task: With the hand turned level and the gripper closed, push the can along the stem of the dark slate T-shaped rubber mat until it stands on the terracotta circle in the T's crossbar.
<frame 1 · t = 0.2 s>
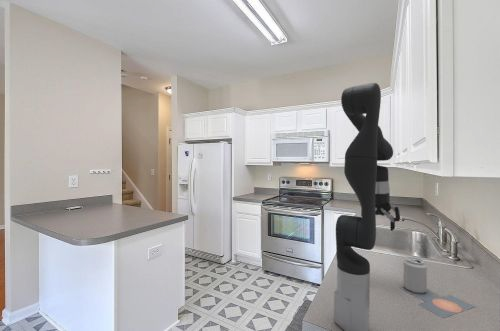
hand: (380, 228, 99), 22 cm above the worktop, tool pointing down, fingers open, 8 cm apart
can: (414, 290, 92), resting on t mat
t mat: (434, 299, 85), on the worktop
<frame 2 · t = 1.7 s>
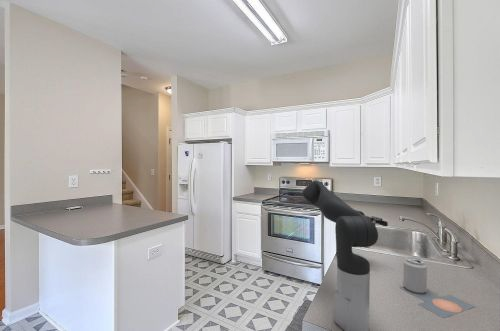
hand: (380, 224, 105), 22 cm above the worktop, tool horizontal, fingers open, 7 cm apart
nothing on the worktop moved.
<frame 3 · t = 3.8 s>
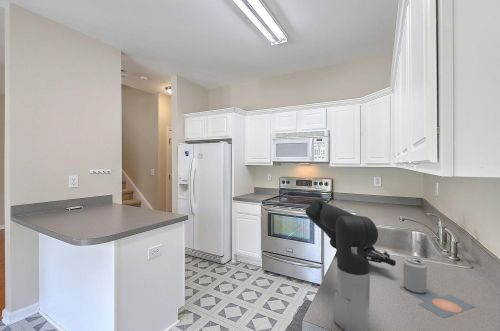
hand: (394, 263, 100), 7 cm above the worktop, tool horizontal, fingers closed
nothing on the worktop moved.
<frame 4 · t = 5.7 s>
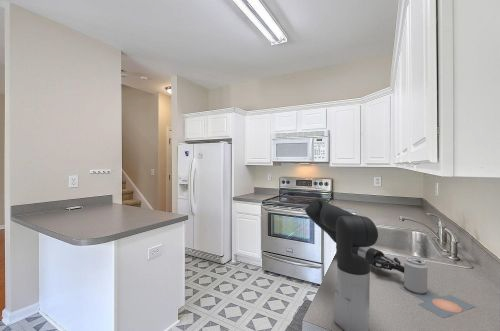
hand: (406, 270, 95), 6 cm above the worktop, tool horizontal, fingers closed
can: (415, 290, 92), resting on t mat, touching gripper
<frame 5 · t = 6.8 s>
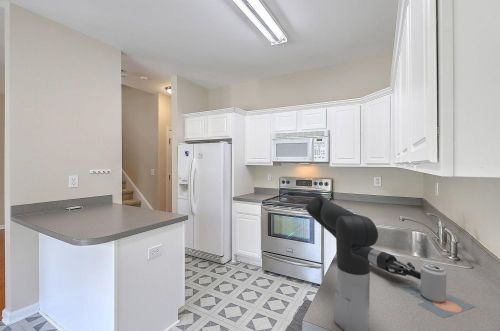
hand: (421, 276, 89), 6 cm above the worktop, tool horizontal, fingers closed
can: (432, 298, 86), resting on t mat, touching gripper
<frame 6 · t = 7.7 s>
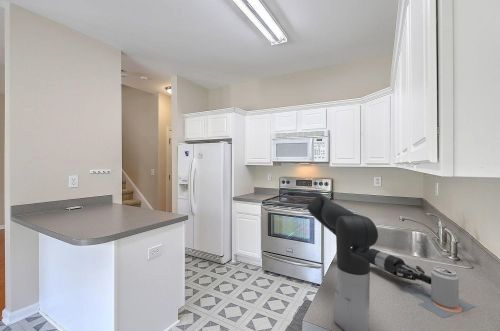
hand: (432, 281, 86), 6 cm above the worktop, tool horizontal, fingers closed
can: (444, 303, 83), resting on t mat, touching gripper
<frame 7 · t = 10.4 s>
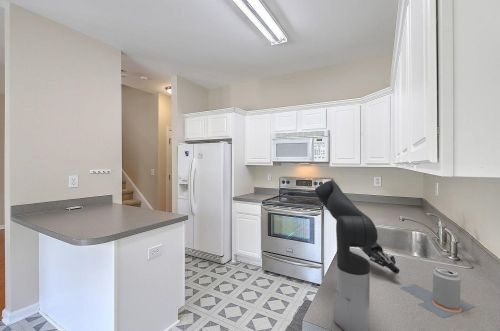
hand: (397, 272, 96), 5 cm above the worktop, tool tilted 75°, fingers closed
can: (446, 304, 82), resting on t mat
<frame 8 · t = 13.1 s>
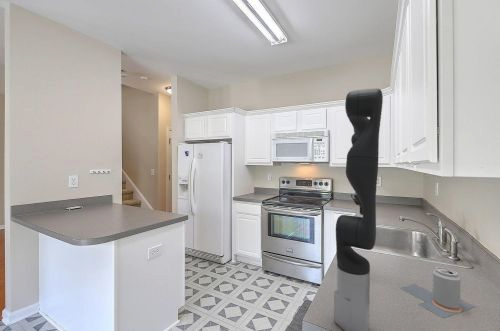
hand: (363, 214, 105), 27 cm above the worktop, tool pointing down, fingers closed
nothing on the worktop moved.
at the end: can inside the target area on the t mat (0.8 cm from its centre), point 0.0 cm above the t mat's base; can tilted 0°; can moved 10.5 cm from its start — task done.
